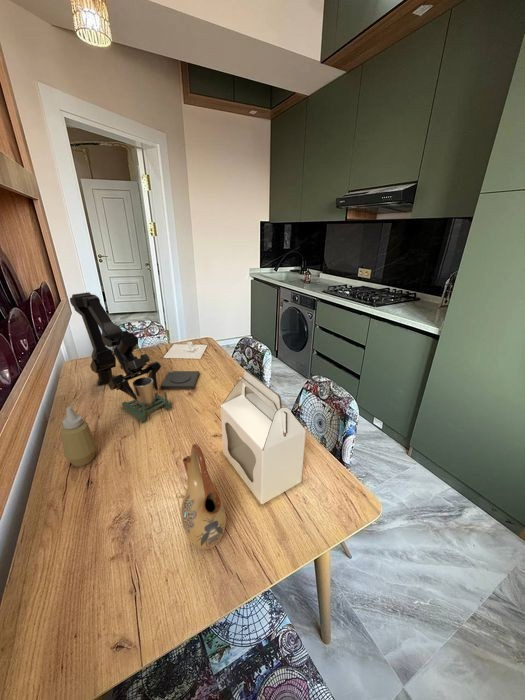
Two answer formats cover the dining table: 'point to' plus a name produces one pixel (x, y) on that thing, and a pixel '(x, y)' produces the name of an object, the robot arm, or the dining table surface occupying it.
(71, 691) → the dining table surface
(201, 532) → the ceramic vessel
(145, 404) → the steel pot
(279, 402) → the gable box
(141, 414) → the dish rack
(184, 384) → the hob
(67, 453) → the squeeze bottle
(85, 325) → the robot arm
